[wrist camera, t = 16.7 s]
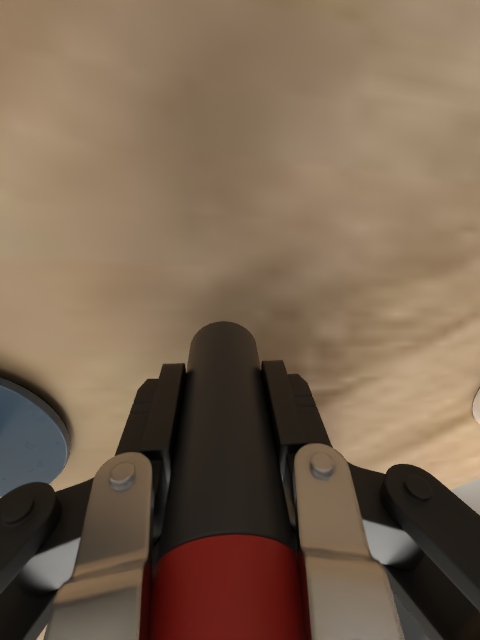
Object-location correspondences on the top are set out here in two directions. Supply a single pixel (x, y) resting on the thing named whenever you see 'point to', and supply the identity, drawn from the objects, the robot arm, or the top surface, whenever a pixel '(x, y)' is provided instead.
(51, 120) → the top surface
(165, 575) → the marker
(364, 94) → the top surface
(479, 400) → the character figurine
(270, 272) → the top surface
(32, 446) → the pot lid
